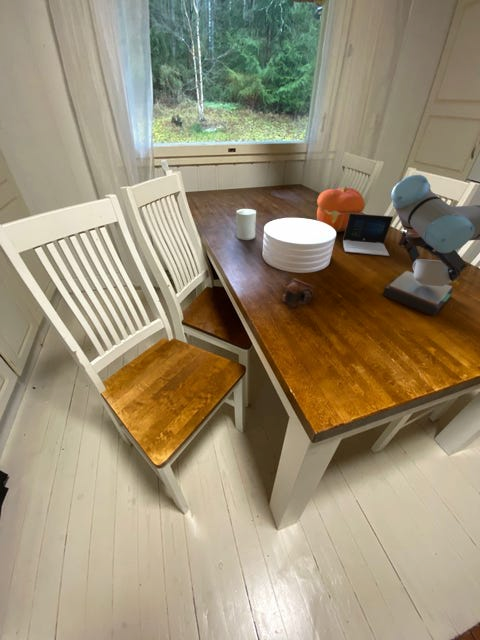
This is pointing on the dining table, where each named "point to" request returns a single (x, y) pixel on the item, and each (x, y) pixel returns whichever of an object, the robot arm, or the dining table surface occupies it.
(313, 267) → the plate stack
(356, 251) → the laptop
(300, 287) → the pottery mug
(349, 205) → the pumpkin
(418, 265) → the teacup
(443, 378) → the dining table surface
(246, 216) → the can
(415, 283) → the scale
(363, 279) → the dining table surface
